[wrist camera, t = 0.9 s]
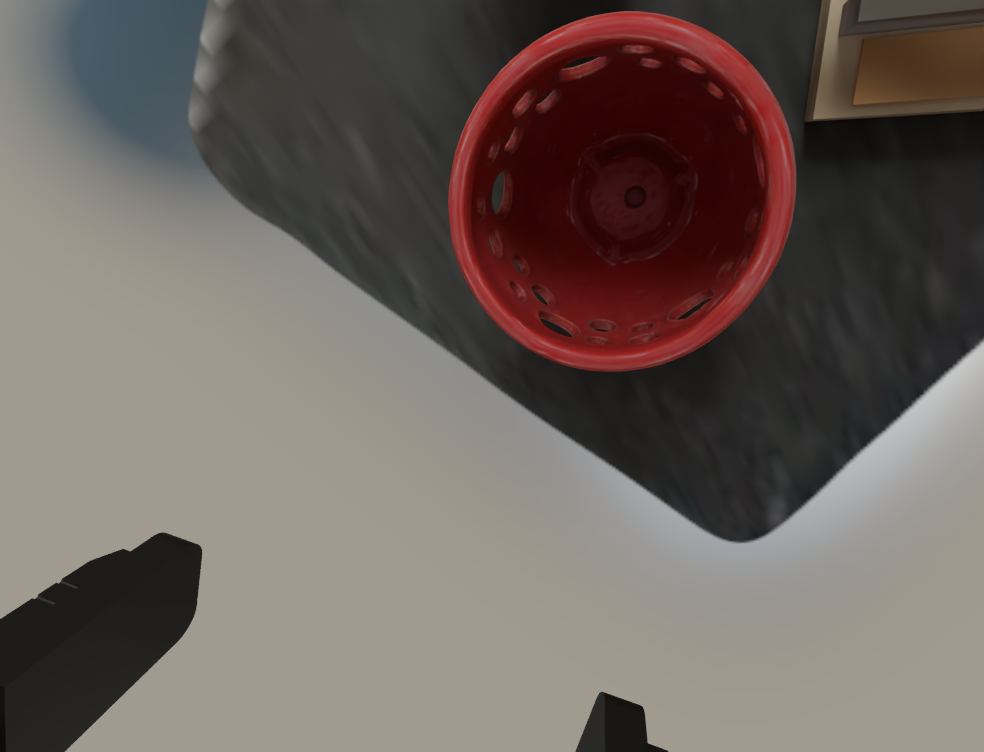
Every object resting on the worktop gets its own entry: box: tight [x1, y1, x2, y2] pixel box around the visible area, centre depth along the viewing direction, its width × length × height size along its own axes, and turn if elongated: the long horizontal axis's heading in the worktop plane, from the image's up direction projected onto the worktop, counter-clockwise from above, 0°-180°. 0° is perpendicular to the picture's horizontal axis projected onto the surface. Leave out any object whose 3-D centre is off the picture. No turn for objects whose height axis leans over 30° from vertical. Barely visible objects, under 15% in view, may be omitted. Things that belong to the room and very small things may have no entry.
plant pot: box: [448, 11, 796, 372], centre depth 26 cm, size 13×13×12 cm
